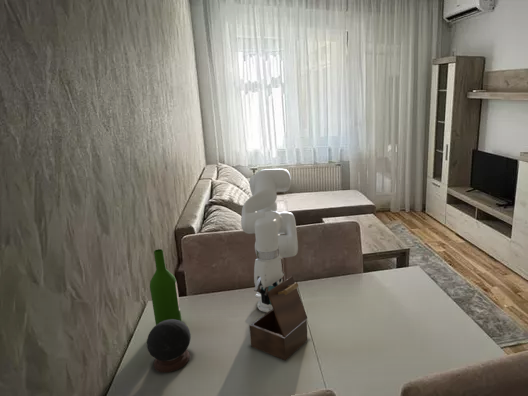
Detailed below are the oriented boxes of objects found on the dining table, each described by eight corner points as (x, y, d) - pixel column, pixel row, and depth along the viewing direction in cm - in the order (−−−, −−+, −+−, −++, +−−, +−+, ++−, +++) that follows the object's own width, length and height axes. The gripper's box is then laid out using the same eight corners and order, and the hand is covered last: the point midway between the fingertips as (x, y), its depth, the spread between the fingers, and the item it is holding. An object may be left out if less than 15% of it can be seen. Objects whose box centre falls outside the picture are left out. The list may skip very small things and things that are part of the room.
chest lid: (266, 292, 128) (278, 290, 125) (291, 276, 138) (302, 274, 136) (283, 337, 129) (294, 336, 126) (305, 318, 140) (317, 317, 137)
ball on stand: (147, 358, 132) (141, 320, 128) (188, 343, 140) (183, 307, 136) (154, 380, 122) (147, 340, 118) (197, 363, 129) (192, 325, 125)
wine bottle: (186, 327, 149) (175, 250, 140) (162, 337, 143) (149, 257, 134) (176, 318, 155) (166, 243, 146) (153, 327, 149) (140, 250, 140)
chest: (251, 346, 138) (249, 325, 136) (274, 328, 149) (273, 308, 147) (285, 360, 131) (284, 338, 129) (307, 340, 142) (306, 319, 140)
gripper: (275, 243, 141) (278, 287, 146) (241, 259, 127) (245, 308, 131) (291, 246, 138) (293, 292, 142) (258, 264, 123) (262, 314, 128)
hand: (270, 299), depth 137 cm, fingers closed on block, 4 cm apart
